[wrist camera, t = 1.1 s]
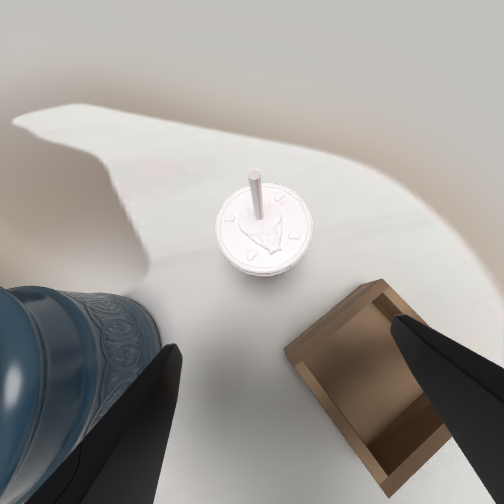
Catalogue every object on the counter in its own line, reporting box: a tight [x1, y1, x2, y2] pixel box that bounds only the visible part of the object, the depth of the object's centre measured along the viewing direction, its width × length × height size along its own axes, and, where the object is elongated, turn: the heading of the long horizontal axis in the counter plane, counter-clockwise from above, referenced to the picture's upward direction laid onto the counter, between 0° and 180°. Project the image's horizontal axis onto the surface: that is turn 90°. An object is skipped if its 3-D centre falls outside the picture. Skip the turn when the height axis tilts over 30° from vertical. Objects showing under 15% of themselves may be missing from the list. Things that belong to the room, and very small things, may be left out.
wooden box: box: [284, 279, 452, 498], centre depth 17 cm, size 10×10×4 cm
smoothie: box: [215, 169, 313, 277], centre depth 16 cm, size 6×6×14 cm
